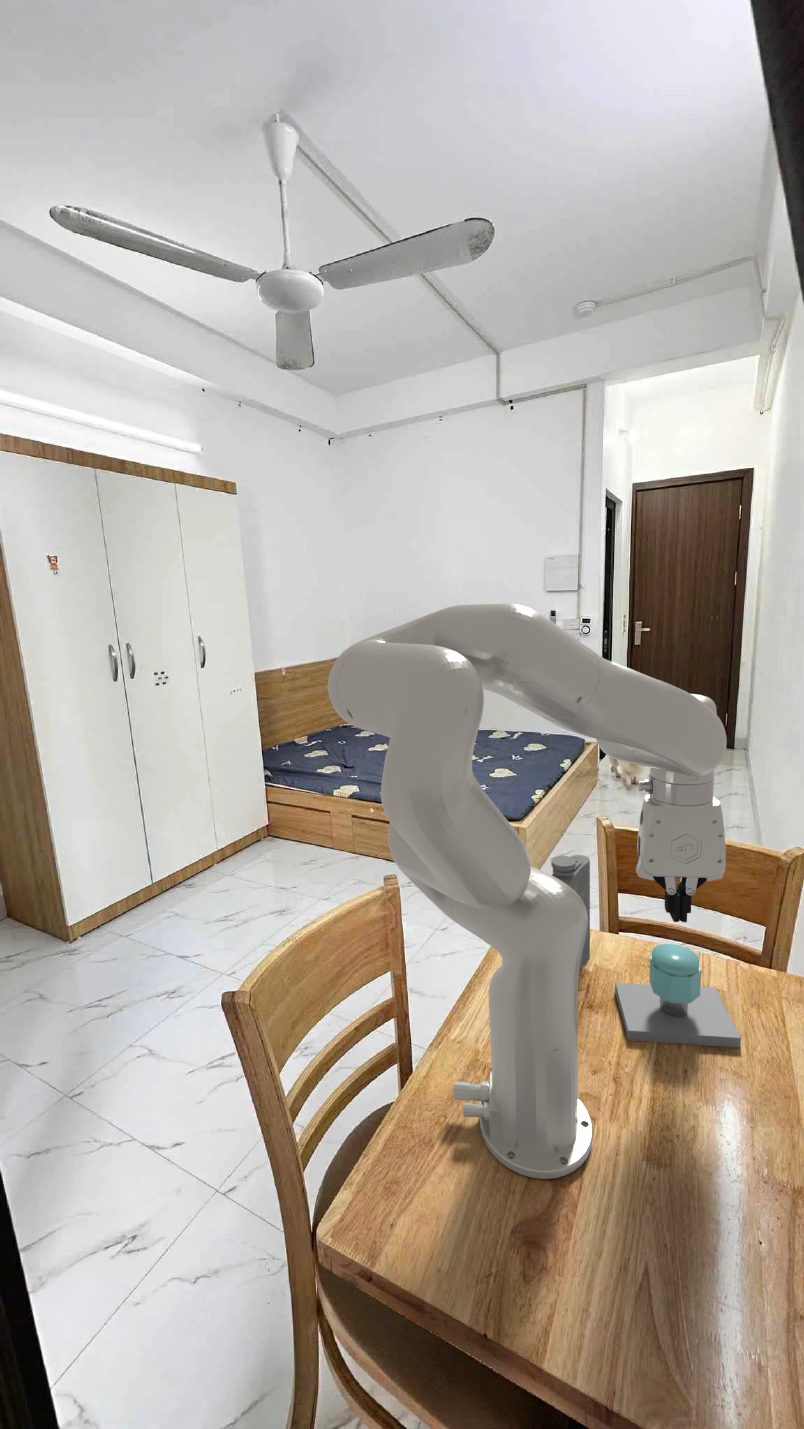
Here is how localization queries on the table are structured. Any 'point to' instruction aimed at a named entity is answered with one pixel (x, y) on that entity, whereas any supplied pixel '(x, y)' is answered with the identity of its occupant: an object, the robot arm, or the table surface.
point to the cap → (675, 973)
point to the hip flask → (576, 886)
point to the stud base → (675, 1018)
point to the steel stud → (673, 1008)
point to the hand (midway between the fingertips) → (677, 916)
